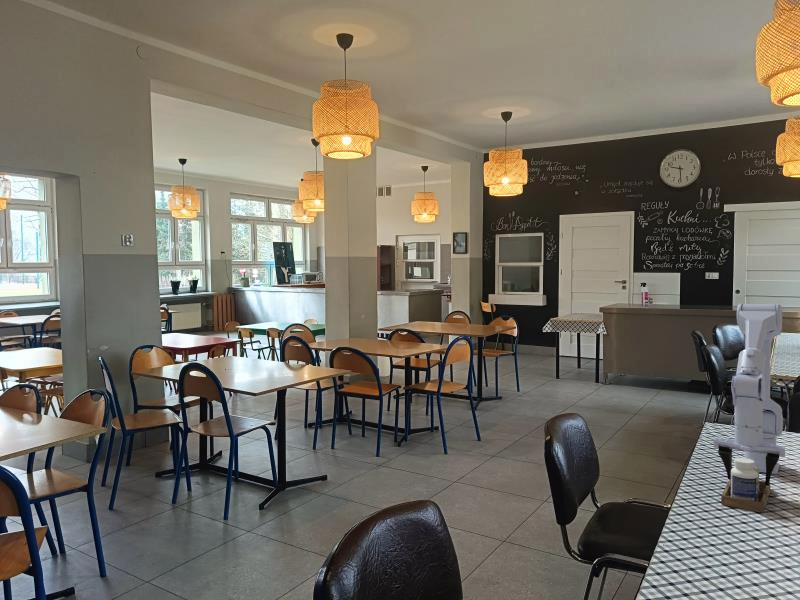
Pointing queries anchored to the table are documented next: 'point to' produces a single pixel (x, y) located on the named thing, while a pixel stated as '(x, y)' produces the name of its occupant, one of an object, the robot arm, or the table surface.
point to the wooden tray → (744, 502)
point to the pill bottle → (744, 479)
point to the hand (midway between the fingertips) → (748, 481)
